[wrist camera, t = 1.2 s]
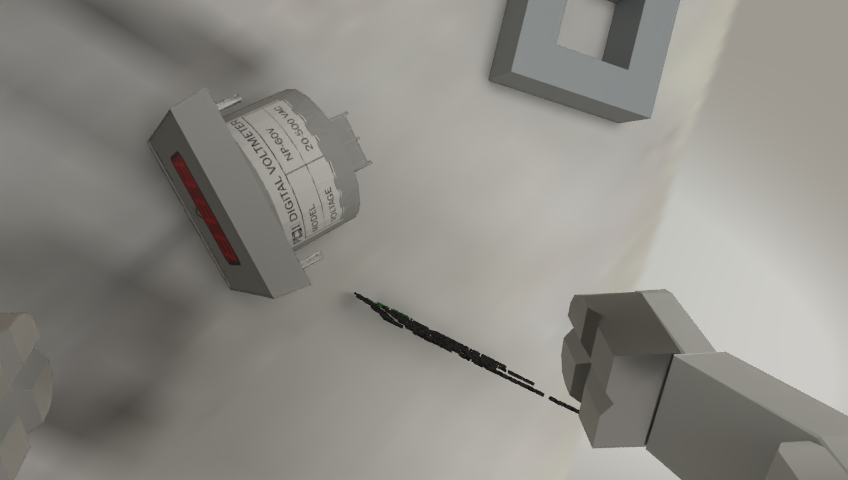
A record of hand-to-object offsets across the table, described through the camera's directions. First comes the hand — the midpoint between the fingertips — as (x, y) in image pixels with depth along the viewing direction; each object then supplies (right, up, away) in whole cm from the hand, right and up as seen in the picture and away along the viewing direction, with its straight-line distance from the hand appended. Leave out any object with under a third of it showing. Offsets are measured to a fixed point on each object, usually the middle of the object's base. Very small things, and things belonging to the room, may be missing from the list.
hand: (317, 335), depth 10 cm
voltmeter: (-3, 0, +31) cm, 31 cm away
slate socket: (+12, +16, +34) cm, 39 cm away
